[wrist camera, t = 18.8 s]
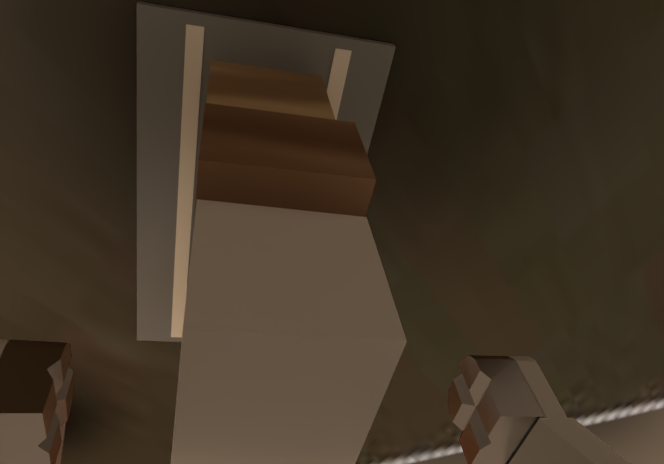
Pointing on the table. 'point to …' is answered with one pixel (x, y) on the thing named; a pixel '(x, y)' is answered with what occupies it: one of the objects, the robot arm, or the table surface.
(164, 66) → the mat
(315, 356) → the grey cube
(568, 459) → the robot arm
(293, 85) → the brown stepped block
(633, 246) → the table surface
